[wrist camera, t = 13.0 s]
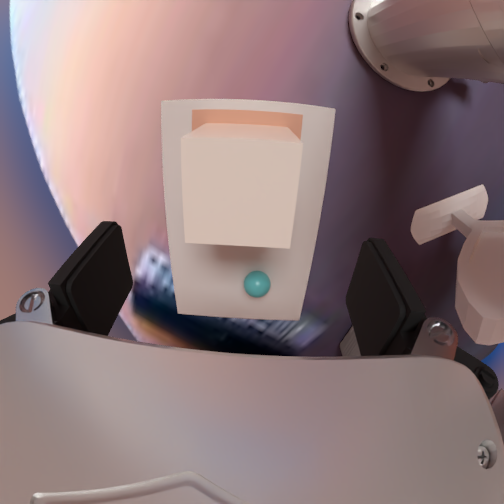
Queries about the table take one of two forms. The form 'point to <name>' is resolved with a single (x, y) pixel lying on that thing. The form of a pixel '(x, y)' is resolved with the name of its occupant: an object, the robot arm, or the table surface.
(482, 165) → the table surface
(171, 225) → the mat
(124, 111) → the table surface
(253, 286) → the marble
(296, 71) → the table surface
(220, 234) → the cream rectangular block
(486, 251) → the heart sculpture
